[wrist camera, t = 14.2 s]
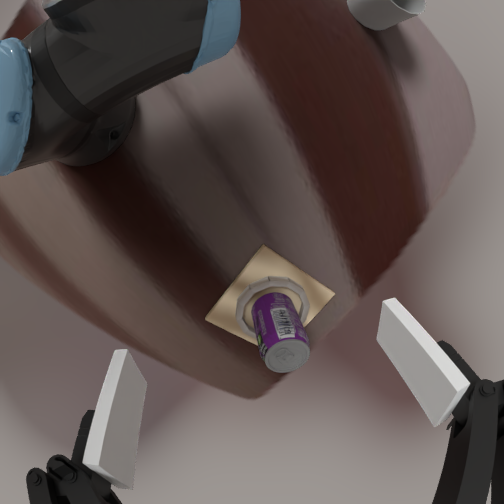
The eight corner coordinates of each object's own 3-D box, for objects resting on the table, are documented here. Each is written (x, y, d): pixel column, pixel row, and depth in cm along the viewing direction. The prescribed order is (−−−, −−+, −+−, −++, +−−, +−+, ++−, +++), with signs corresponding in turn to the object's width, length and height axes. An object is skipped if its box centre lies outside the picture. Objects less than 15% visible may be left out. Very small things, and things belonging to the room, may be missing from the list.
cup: (398, 25, 29) (434, 11, 20) (366, 35, 30) (401, 18, 21) (371, -12, 26) (402, -33, 17) (337, -5, 27) (365, -30, 18)
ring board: (276, 351, 51) (279, 359, 49) (205, 316, 46) (205, 325, 44) (333, 291, 47) (338, 298, 45) (263, 243, 42) (265, 249, 40)
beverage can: (241, 311, 46) (250, 363, 35) (270, 282, 44) (288, 329, 33) (272, 330, 48) (287, 380, 37) (300, 303, 46) (323, 351, 35)
